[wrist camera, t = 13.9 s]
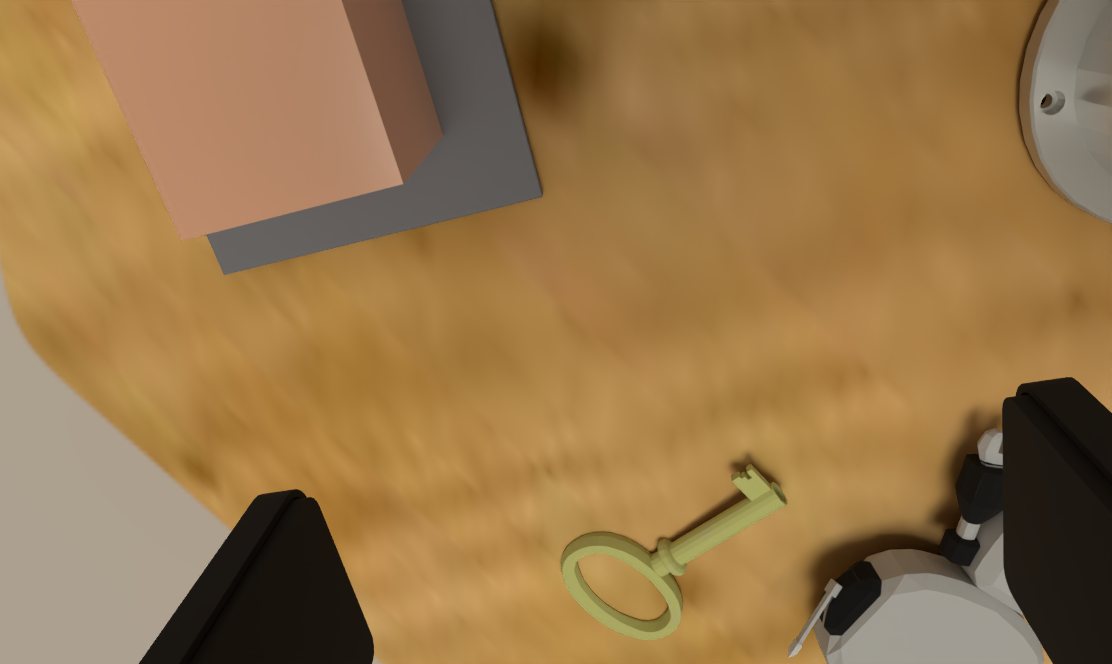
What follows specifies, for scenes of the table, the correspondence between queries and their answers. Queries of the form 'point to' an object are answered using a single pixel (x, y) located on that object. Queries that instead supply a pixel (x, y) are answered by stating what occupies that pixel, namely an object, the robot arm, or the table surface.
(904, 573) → the robot toy
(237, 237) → the charcoal mat
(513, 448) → the table surface
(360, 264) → the table surface
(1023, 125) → the robot arm
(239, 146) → the brown cube
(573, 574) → the key
